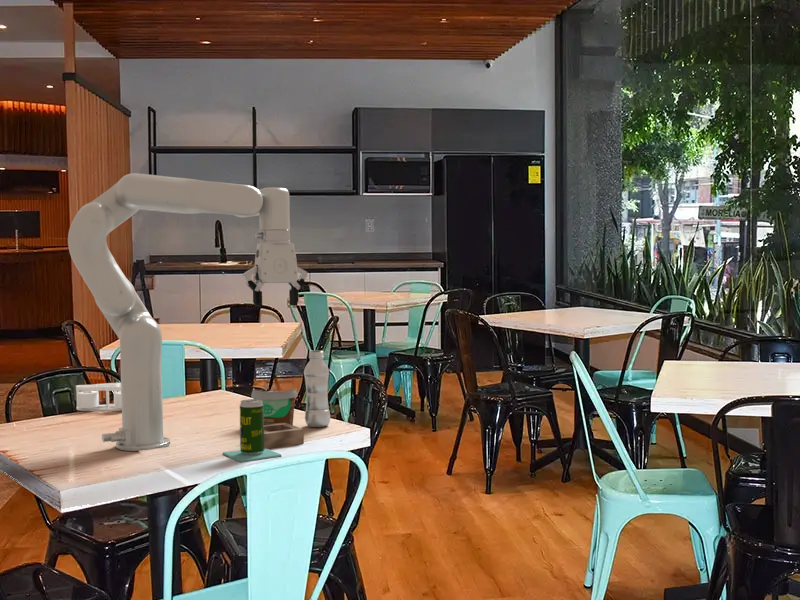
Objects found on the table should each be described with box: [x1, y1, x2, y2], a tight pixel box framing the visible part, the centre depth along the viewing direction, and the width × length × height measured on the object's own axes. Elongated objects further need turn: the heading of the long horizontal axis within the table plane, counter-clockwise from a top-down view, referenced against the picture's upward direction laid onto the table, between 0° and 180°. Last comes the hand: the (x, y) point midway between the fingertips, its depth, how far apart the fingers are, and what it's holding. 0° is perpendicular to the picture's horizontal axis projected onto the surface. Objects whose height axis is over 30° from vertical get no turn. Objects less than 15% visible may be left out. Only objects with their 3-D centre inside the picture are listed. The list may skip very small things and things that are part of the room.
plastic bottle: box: [303, 349, 331, 428], centre depth 250 cm, size 6×7×20 cm
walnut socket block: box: [264, 423, 305, 449], centre depth 232 cm, size 10×10×4 cm
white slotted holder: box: [75, 382, 122, 412], centre depth 280 cm, size 20×11×7 cm, turn 86°
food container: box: [250, 387, 298, 426], centre depth 250 cm, size 12×6×10 cm, turn 81°
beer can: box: [239, 398, 264, 456], centre depth 218 cm, size 5×5×12 cm
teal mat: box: [222, 448, 282, 463], centre depth 218 cm, size 10×10×1 cm
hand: (276, 306), depth 240 cm, fingers open, 9 cm apart
